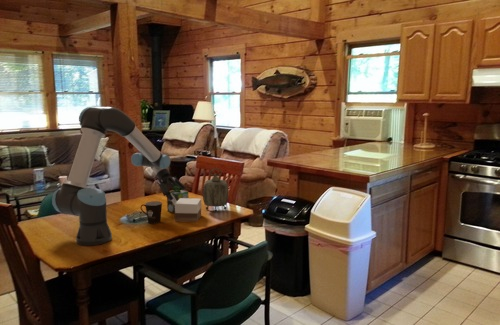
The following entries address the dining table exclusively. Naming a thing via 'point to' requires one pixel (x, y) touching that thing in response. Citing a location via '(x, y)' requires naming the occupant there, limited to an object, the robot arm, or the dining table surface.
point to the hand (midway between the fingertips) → (182, 201)
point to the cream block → (188, 205)
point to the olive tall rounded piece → (215, 192)
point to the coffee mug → (153, 211)
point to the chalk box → (177, 195)
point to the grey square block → (188, 217)
